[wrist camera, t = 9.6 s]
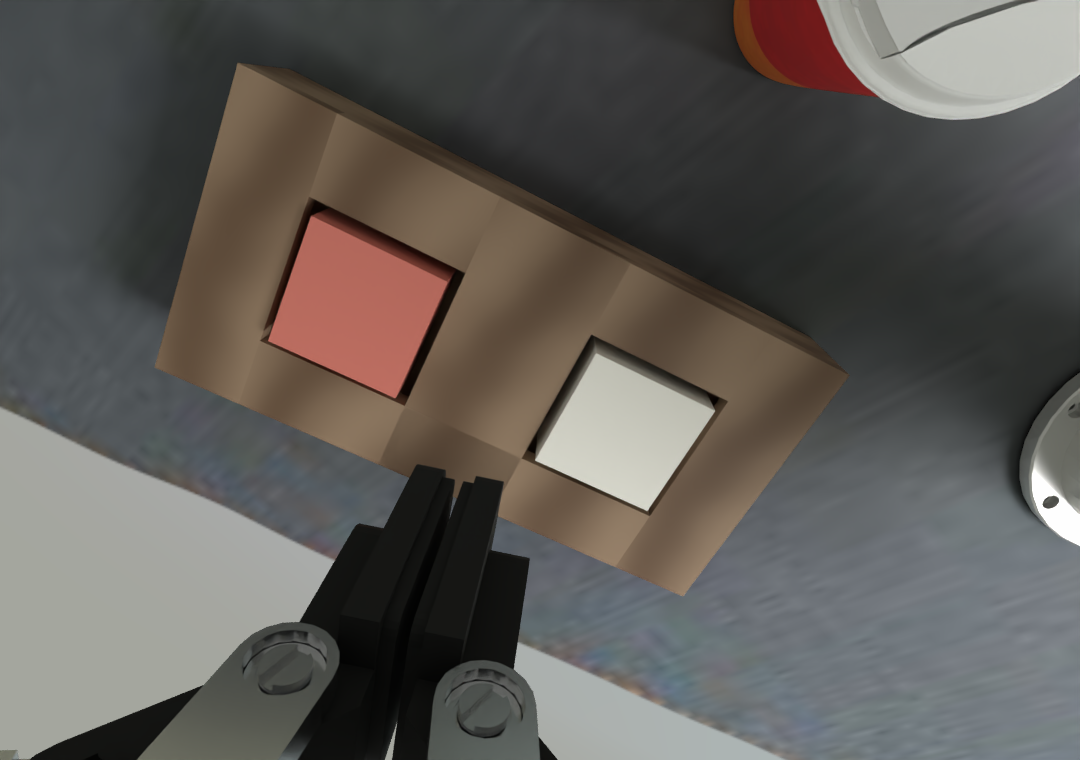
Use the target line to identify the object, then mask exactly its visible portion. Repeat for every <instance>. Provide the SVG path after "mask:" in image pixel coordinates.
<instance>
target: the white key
mask: <svg viewBox="0 0 1080 760" xmlns="http://www.w3.org/2000/svg"><path fill="white" fill-rule="evenodd" d="M714 412H715V409H714V407H713V405H712V403H711V401H710V399H709V397H708V395H707V393H706V390H704V389H702V388H700V387H698V386H696V385H694V384H692V383H690V382H688V381H685V380H683V379H681V378H679V377H677V376H675V375H673V374H671V373H669V372H667V371H665V370H663V369H661V368H659V367H657V366H655V365H653V364H651V363H649V362H647V361H645V360H642V359H640V358H638V357H636V356H634V355H632V354H630V353H628V352H626V351H624V350H622V349H620V348H618V347H616V346H614V345H612V344H610V343H608V342H606V341H604V340H602V339H599V338H597V337H595V336H593V335H591V337H590V338H589V340H588V342H587V344H586V345H585V347H584V349H583V351H582V353H581V354H580V356H579V358H578V360H577V362H576V363H575V365H574V367H573V369H572V370H571V372H570V374H569V376H568V378H567V379H566V381H565V383H564V385H563V387H562V388H561V390H560V392H559V394H558V395H557V397H556V399H555V401H554V403H553V404H552V406H551V408H550V410H549V411H548V413H547V415H546V417H545V419H544V420H543V422H542V424H541V426H540V428H539V429H538V434H537V445H536V456H535V461H537V462H540V463H542V464H544V465H546V466H549V467H551V468H553V469H555V470H557V471H560V472H562V473H564V474H566V475H569V476H571V477H573V478H575V479H577V480H580V481H582V482H584V483H586V484H588V485H591V486H593V487H595V488H597V489H600V490H602V491H604V492H606V493H608V494H611V495H613V496H615V497H617V498H620V499H622V500H624V501H626V502H628V503H631V504H633V505H635V506H637V507H639V508H642V509H644V510H646V511H648V509H649V508H650V506H651V505H652V503H653V502H654V500H655V499H656V498H657V496H658V495H659V493H660V492H661V490H662V489H663V487H664V486H665V484H666V483H667V481H668V480H669V478H670V477H671V475H672V474H673V472H674V471H675V470H676V468H677V467H678V465H679V464H680V462H681V461H682V459H683V458H684V456H685V455H686V453H687V452H688V450H689V449H690V447H691V446H692V444H693V443H694V442H695V440H696V439H697V437H698V436H699V434H700V433H701V431H702V430H703V428H704V427H705V425H706V424H707V422H708V421H709V419H710V418H711V416H712V415H713V414H714Z"/></svg>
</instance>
